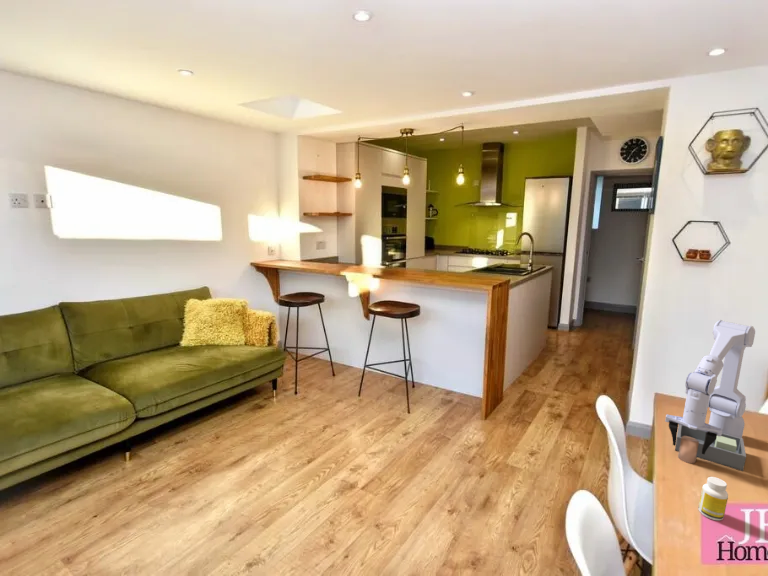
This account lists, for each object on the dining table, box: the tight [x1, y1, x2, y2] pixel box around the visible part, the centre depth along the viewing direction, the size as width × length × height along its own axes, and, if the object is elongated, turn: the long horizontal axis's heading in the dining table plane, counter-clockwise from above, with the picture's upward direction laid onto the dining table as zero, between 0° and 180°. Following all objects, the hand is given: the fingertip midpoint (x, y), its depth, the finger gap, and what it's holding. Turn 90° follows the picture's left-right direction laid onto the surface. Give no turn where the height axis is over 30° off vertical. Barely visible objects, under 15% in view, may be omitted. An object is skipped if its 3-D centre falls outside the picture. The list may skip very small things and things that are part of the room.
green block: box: [714, 436, 737, 453], centre depth 136 cm, size 5×5×5 cm
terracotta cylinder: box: [677, 436, 699, 465], centre depth 134 cm, size 5×5×7 cm
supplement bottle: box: [698, 476, 729, 521], centre depth 109 cm, size 5×5×10 cm
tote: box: [674, 424, 747, 472], centre depth 139 cm, size 18×14×5 cm
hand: (688, 448), depth 134 cm, fingers open, 7 cm apart
